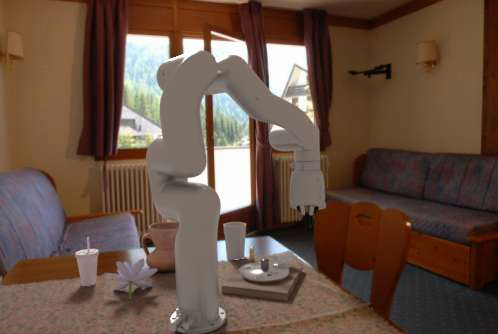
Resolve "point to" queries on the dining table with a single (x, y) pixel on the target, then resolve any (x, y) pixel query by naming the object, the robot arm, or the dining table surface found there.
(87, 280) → the smoothie
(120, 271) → the water lily
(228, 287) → the base board
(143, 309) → the dining table surface
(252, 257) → the post and dowel
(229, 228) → the cup
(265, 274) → the flange plate
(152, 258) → the ceramic jug
